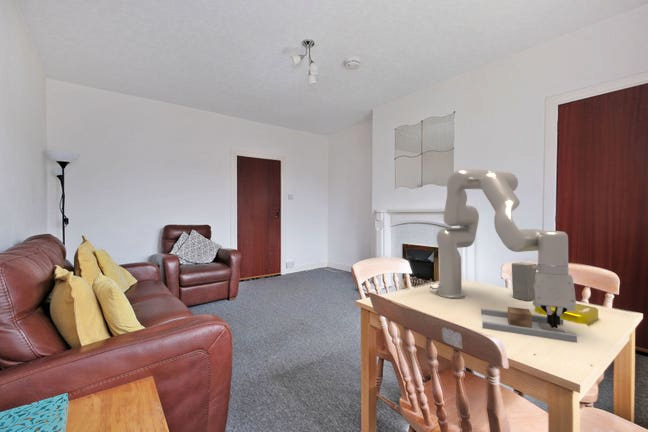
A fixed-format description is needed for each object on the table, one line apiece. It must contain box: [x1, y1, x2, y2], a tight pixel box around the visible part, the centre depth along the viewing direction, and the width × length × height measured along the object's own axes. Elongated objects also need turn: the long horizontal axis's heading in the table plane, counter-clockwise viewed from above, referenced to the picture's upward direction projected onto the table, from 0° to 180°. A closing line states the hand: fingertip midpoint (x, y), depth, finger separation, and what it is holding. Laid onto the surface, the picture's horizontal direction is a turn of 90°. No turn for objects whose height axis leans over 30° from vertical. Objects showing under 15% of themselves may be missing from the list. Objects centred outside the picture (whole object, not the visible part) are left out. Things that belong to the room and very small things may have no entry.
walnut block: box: [507, 306, 533, 328], centre depth 95 cm, size 6×6×5 cm
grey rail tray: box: [480, 307, 578, 343], centre depth 95 cm, size 24×15×3 cm, turn 63°
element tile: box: [534, 302, 599, 327], centre depth 105 cm, size 15×15×5 cm
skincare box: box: [511, 261, 537, 302], centre depth 127 cm, size 8×7×16 cm
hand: (553, 326), depth 91 cm, fingers closed
